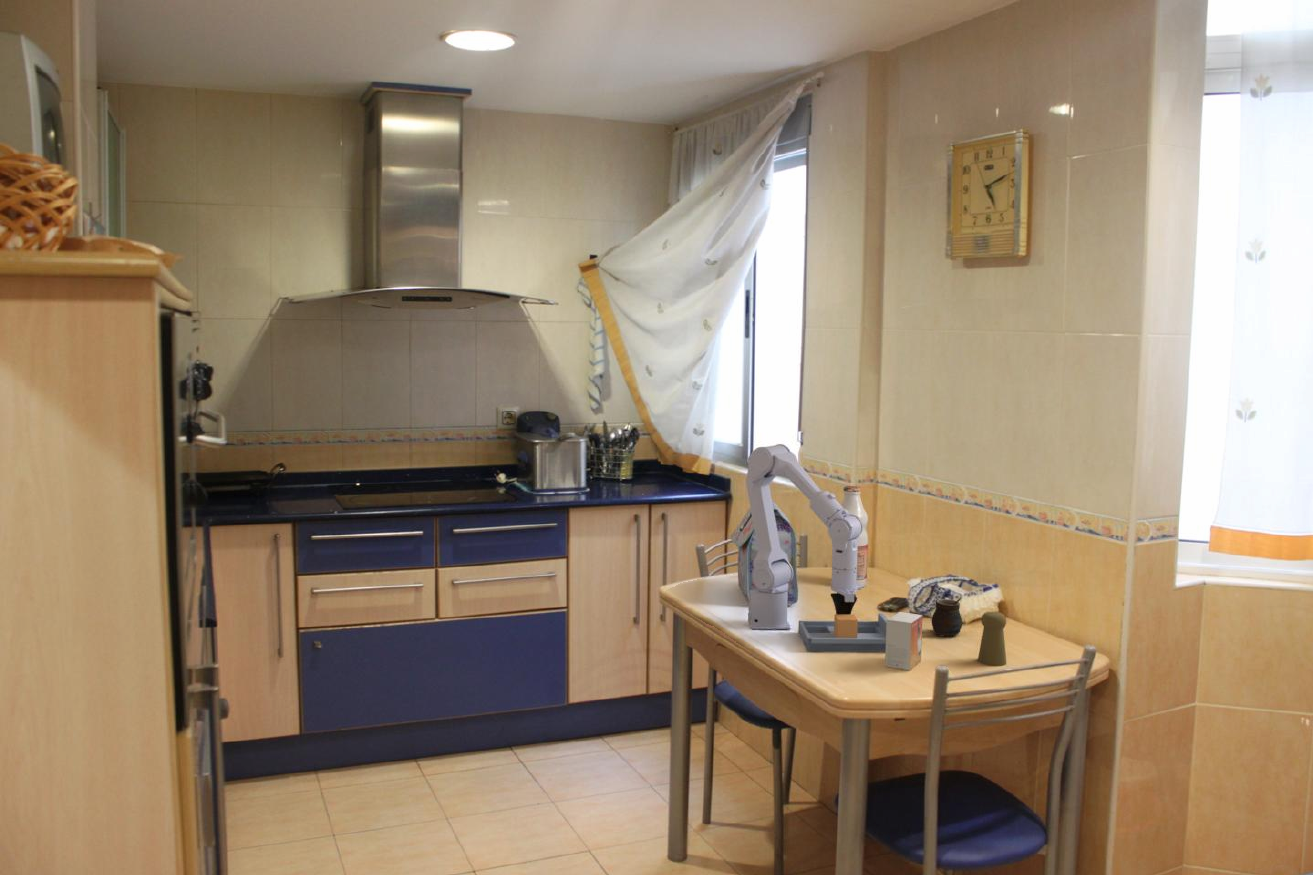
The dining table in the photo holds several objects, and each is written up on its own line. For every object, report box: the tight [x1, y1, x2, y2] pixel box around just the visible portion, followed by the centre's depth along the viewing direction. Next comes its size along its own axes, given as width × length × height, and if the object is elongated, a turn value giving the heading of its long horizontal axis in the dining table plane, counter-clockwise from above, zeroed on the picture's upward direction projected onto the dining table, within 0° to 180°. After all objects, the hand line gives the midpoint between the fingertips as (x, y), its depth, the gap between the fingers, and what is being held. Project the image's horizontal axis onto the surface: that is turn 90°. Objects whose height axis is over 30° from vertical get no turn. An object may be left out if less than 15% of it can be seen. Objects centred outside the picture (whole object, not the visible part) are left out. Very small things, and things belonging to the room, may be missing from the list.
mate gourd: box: [931, 596, 963, 638], centre depth 259 cm, size 7×8×10 cm
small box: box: [884, 611, 924, 671], centre depth 236 cm, size 8×6×10 cm
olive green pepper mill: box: [977, 611, 1007, 667], centre depth 238 cm, size 6×6×11 cm
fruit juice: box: [840, 485, 869, 588], centre depth 307 cm, size 9×9×28 cm
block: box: [833, 613, 859, 638], centre depth 250 cm, size 4×4×4 cm
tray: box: [797, 612, 888, 653], centre depth 252 cm, size 20×15×5 cm
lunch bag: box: [730, 500, 799, 606], centre depth 293 cm, size 22×17×26 cm
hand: (842, 624), depth 254 cm, fingers closed
